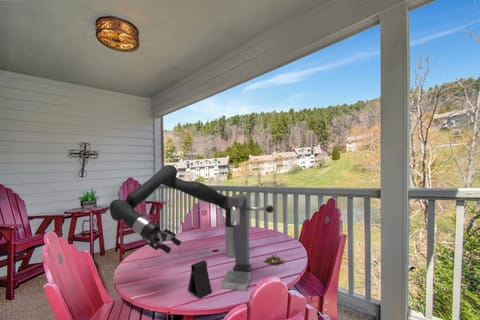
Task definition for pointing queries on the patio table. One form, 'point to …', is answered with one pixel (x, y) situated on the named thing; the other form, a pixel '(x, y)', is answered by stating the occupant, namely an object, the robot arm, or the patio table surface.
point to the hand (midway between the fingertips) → (175, 247)
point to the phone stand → (199, 280)
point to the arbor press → (241, 243)
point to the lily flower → (274, 260)
